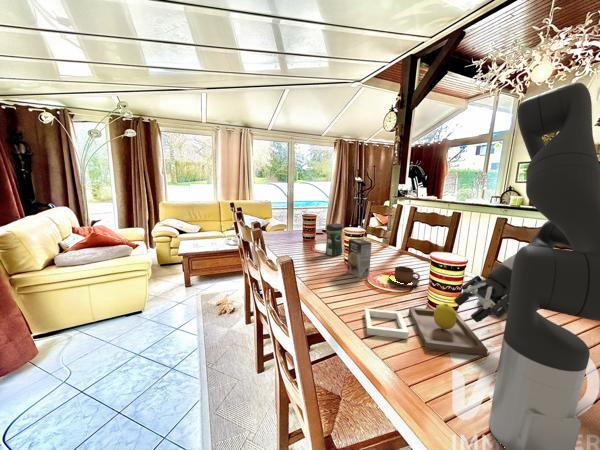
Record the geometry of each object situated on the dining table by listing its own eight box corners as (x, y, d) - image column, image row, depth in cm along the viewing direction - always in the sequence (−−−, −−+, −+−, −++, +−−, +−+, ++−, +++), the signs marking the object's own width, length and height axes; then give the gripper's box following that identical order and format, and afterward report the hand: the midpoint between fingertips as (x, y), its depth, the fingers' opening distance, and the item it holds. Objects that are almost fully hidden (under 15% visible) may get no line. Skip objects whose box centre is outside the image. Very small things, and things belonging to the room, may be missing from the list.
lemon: (458, 336, 66) (461, 309, 65) (436, 334, 68) (439, 307, 66) (450, 325, 72) (453, 300, 70) (429, 322, 73) (432, 298, 71)
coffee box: (346, 271, 116) (347, 239, 114) (357, 269, 119) (359, 237, 116) (358, 278, 108) (360, 243, 105) (370, 276, 111) (372, 242, 108)
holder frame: (408, 339, 67) (408, 332, 66) (367, 334, 69) (367, 328, 68) (399, 317, 77) (400, 311, 77) (364, 314, 79) (364, 308, 79)
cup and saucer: (412, 278, 109) (413, 265, 108) (423, 289, 97) (424, 275, 96) (385, 277, 110) (386, 264, 109) (392, 288, 99) (393, 274, 98)
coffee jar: (335, 251, 150) (335, 221, 147) (344, 254, 144) (345, 223, 140) (323, 254, 145) (323, 223, 141) (332, 257, 138) (332, 225, 135)
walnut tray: (486, 356, 60) (487, 349, 60) (426, 349, 63) (426, 342, 62) (455, 317, 77) (456, 311, 77) (408, 312, 80) (409, 307, 80)
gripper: (487, 256, 72) (443, 290, 75) (527, 274, 58) (470, 315, 61) (504, 273, 72) (459, 307, 76) (547, 295, 58) (489, 335, 62)
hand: (464, 310), depth 68 cm, fingers open, 8 cm apart
